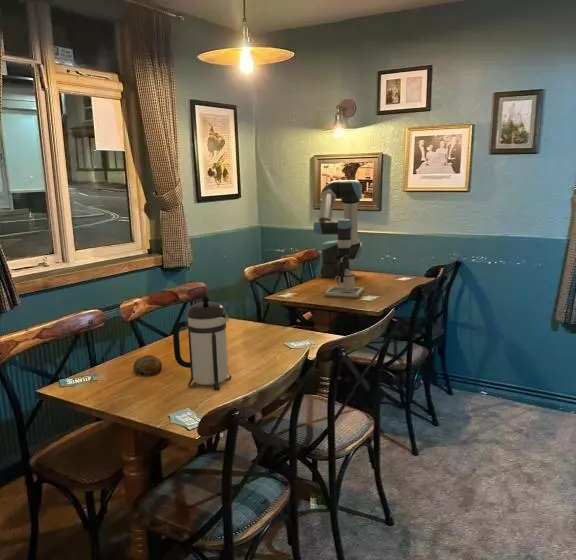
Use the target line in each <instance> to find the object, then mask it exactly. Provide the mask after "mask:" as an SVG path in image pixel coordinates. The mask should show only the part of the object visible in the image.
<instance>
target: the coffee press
mask: <svg viewBox="0 0 576 560" xmlns="http://www.w3.org/2000/svg"><path fill="white" fill-rule="evenodd" d="M201 301H202V302H197V303H194V304H192V305H191V306H189V308H188V310H187V312H186V318H187V320H184V321H180V322H178V323H177V324H176V325H175V326H174V328H173V331H172V335H173V336H172V341H173V352H174V358H175V361H176V362H177V363H178V365H179V366H180V367H183V368H187V369H190V380H189V382H188V383H187V385H188V387H189V389H193V388H194V387H195V386H196V385H197V384H198V385H204V386H205V385H206V386H208V385H209V386H211V385H213V389H214V391H218V390H219V391H220V389H221V388H220V386H221V385H220V383H222V382H224V381H225V380H229V381H230V380H231V379H232V375H230V373H229V370H228V369H229V367H228V353H227V352H228V349H227V348H228V347H227V329H226V328H227V323H228V322H229V321H230V320H229V317H228V315H227V310H226V309H225V308H224V306H223V305H222V304H221V303H218V302H214V301H210V298H209V296H203V297H202V298H201ZM185 327H187V331H188V347H189V349H188V350H189V361H185V360H184V359H183V358H182V356H181V348H180V347H181V345H180V343H181V342H180V330H181V329H182V328H185ZM228 375H229V377H228ZM192 382H193V383H192Z"/></svg>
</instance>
